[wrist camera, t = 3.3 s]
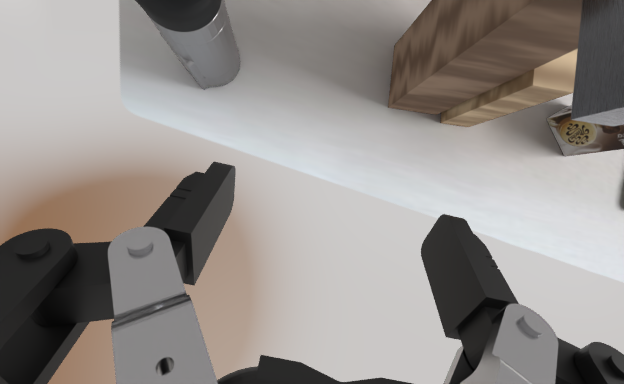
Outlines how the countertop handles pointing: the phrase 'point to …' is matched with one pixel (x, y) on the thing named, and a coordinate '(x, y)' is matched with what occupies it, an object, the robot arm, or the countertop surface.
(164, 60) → the countertop surface
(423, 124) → the countertop surface
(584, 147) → the coffee box
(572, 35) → the stand
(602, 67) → the gray metal block
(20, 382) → the robot arm
